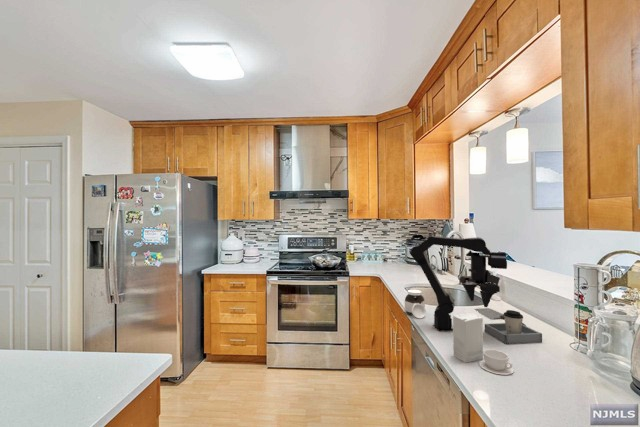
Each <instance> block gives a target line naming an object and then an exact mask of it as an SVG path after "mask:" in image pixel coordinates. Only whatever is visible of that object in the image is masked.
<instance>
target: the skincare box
mask: <svg viewBox="0 0 640 427" xmlns="http://www.w3.org/2000/svg"><path fill="white" fill-rule="evenodd" d="M483 320H484V318H483V317H481V316H479V315H476V314H474V313H472V312H465V313H461V314H457V315H456V314H455V315H452V322H453V323H452V329H453V331H452V332H453V333H452V334H453V335H452V336H453V338H452V339H453V341H452V342H453V344H452V345H453V346H452V347H453V356H454V357H455V358H458V359H459V360H461V361H462V362H464V363H470V362H475V361H478V360H481V359H482V360H483V359H484V355H483V351H484V349H483V348H484V346H483V345H484V340H483V337H484V336H483V335H484V334H483V333H484V332H483V328H484V327H483V324H484V322H483Z"/></svg>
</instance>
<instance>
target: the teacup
mask: <svg viewBox="0 0 640 427" xmlns="http://www.w3.org/2000/svg"><path fill="white" fill-rule="evenodd" d="M509 359H510V357H509V354H507V353H506V352H504V351H501V350H498V349H493V348H488V349H483V359H482V360H481V359H480V360H479V361H478V365H479V366H480V368H482V369H483V370H485V371H487V372H489V373H493V374H495V375H496V374H497V375H503V376H506V375H512V374H513V373H514V372H515V369H514V368H513V363H512V362H511V361H509Z"/></svg>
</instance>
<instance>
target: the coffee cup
mask: <svg viewBox="0 0 640 427" xmlns="http://www.w3.org/2000/svg"><path fill="white" fill-rule="evenodd" d="M502 314H503V315H504V318H505V320H504V323H505V325H506V332H507V334H521V328H522V323H523V320H524V316H523V315H522V314H521V312H520V311H517V310H513V309H512V310H510V309H507V310H506V311H505V312H503V313H502Z"/></svg>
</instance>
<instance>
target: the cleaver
mask: <svg viewBox="0 0 640 427" xmlns="http://www.w3.org/2000/svg"><path fill="white" fill-rule="evenodd" d="M474 310H475V311H476V312H477V311H478V312H477V313H479V314H480V315H481V316H484V317H486V318H488V319H490V320H504V321H505V318H504V315H503V314H504V313H503V312H502V313H501V312H499V311H497V310H494V309H492V308H488V307H484V308H474ZM522 325H524V326H527V325H526V324H525V323H524V322H522Z"/></svg>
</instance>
